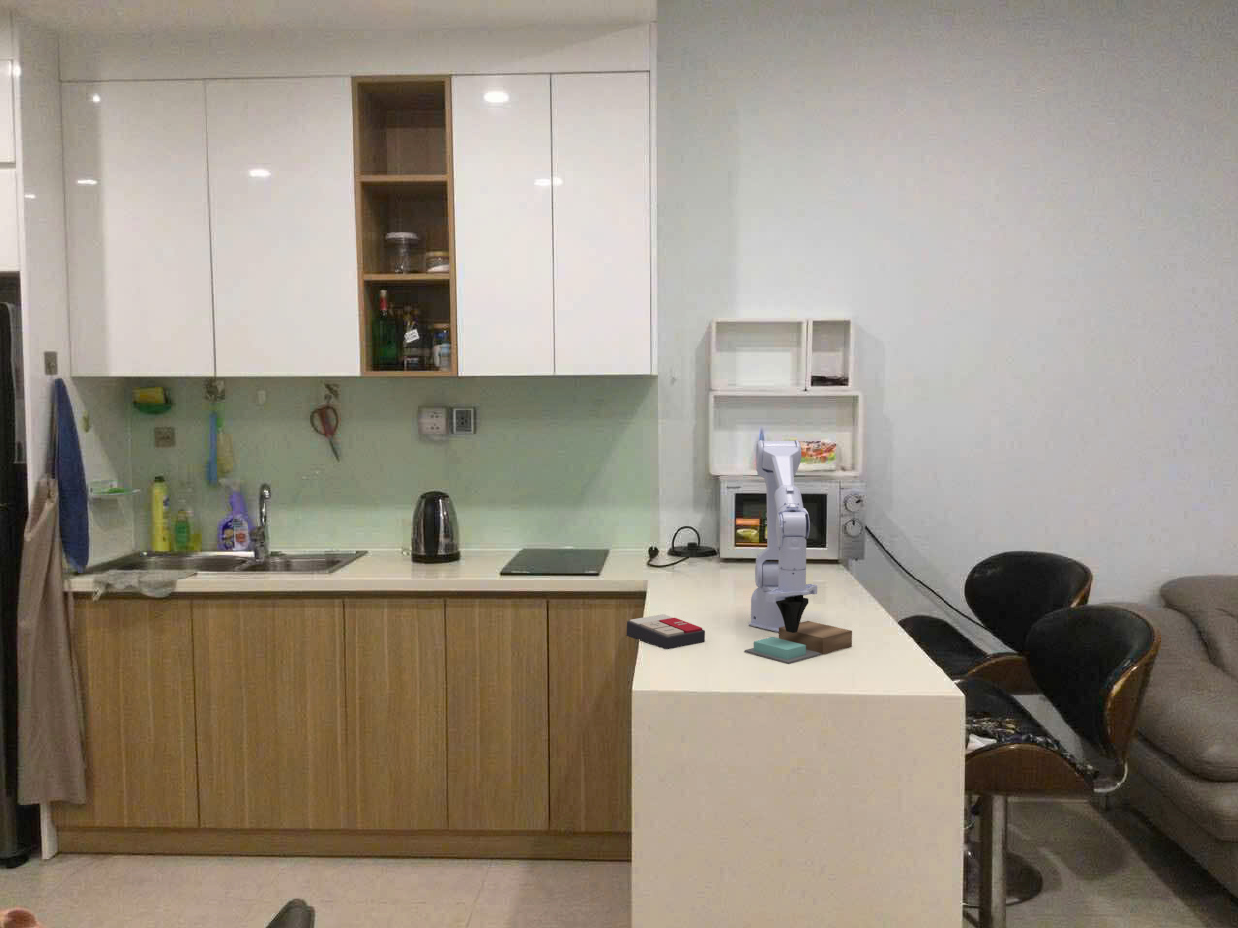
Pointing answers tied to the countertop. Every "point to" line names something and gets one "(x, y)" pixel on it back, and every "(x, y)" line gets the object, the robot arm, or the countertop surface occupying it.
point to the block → (779, 648)
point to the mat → (808, 655)
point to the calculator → (665, 631)
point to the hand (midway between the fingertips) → (791, 631)
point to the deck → (819, 637)
